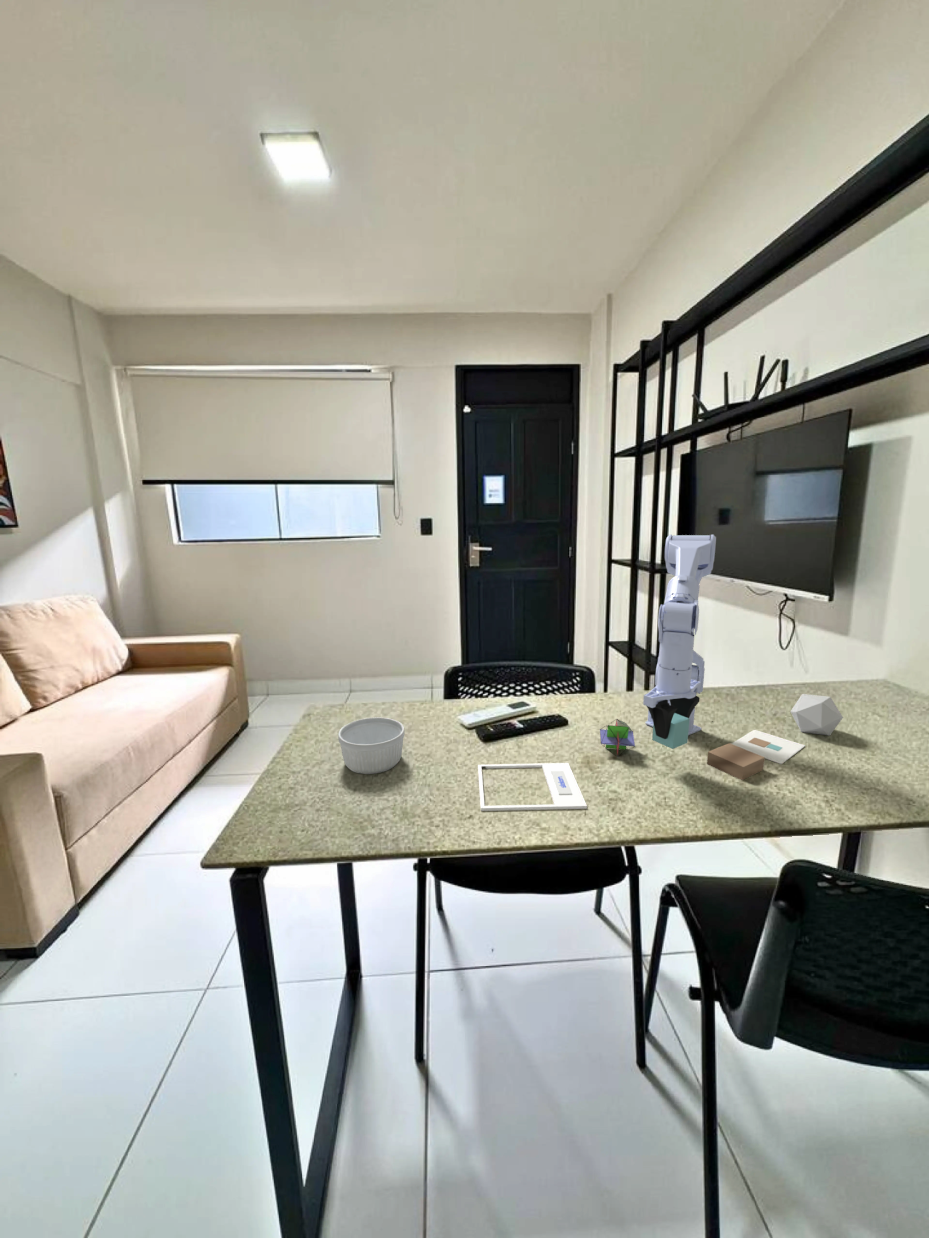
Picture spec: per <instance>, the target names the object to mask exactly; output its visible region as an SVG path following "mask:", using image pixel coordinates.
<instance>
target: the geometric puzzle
mask: <svg viewBox="0 0 929 1238" xmlns="http://www.w3.org/2000/svg"><path fill="white" fill-rule="evenodd" d="M613 722H615V725H611V724H612V723H613ZM604 728H605V726H603V727H602V728H599V733H600V734H599V737H600V745H603V746H604V748H605V749H606V750H608V749H611V750H613V749H614V750H616V754H614V756H616V758H619V750H623V751H622V752H621V753H620V756H622V755H623V754H624V753H627V752H628V750H627V747H630V749H631V750H632V749H633V748H636V745H635V744H636V743H635V737H634V736H635V735H634V730H633V729H631V727H630V726H629V725H628V724H627V722H625V721H622V720H621V719H618V718H616V719H614V720H613V721H611V722H610V723H609V724H607V725H606V729H604ZM611 750H609V752H610V753H612V751H611ZM626 750H627V751H626Z"/></svg>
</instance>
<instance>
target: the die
mask: <svg viewBox="0 0 929 1238" xmlns="http://www.w3.org/2000/svg"><path fill="white" fill-rule="evenodd" d="M790 714H791V715H792V718H793V720H794V721H795V724H796V725H797V727H798V729H799V730H800V732H801V733H807V734H814V735H820V736H827V737H828V736H831V735H832V733H833V732H834V731H835V729H836V728H837V727H838V725H839V724H840V723H841V721H842V720H843V718H844V717H843V715H842V713H841V712H840V710H839V708H838V706H837V705H836V704H835V702H834V700H833V699H832V697H831V696H826V695H816V694H806V693H802V694H801V695H800V697H799V698H798V700H797V701H796V703H795V704H794V705H793V707H792V709H791V710H790Z"/></svg>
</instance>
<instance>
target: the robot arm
mask: <svg viewBox="0 0 929 1238" xmlns="http://www.w3.org/2000/svg"><path fill="white" fill-rule="evenodd" d="M716 543H717V536H715V534H709V535H708V534H707V535H703V534H702V535H701V534H700V535H699V534H698V535H697V534H695V535H694V534H693V535H692V534H691V535H690V534H689V535H687V534H685V535H683V534H682V535H676V534H674V535H673V534H669V535H668V536H667V537H666V539H665V546H664V561H665V568H666V571H667V572H666V573H668V574H670V575H672V576H674V577H672V578H671V579H670V580H669V581H668V583H667V586H666V593H665V598H664V603H663V604H660V606H659V610H658V616H657V617H658V619H657V627H658V642H659V650H658V651H659V653H658V657H657V664H656V668H655V678H654V679H655V680H654V683H655V686H654V687H653V688H652V689H651V690H650V691H649V692H647V693H646V694H643V703H642V704H643V706H645V707H646V708H647V710H648V711H647V720H646V721H645V724H646V725H647V726H650V727H652V728H653V723H654V728H655V732H656V736H658V737H661V738H663V739H667V738H668V735H669V731H670V725H671V721H672V718H673V715H674V713H676V714H679V715H681V716H684V717H687V718H689V730H688V736H690V735H693V734H694V733H697V732H699V731H702V727H700V726H698V725H697V724H694V723H695V711H696V706H697V705H698V703H699V702H700V699H701V698H700V697H699V696H697V694H701V693H703V691H704V680H705V670H706V669H705V660H704V657H702V656H701V654H699V653H697V652H696V651H695V650H694V645H695V636H696V635H697V631H698V629H699V621H700V620H699V616H700V607H699V606H700V605H699V596H700V595H699V593H700V584H701V581H702V579H703V578H704V577H706V576H709V575H711V574H712V571H713V569H714V562H715V558H716V557H715V555H716V554H715V553H716V545H717V544H716Z"/></svg>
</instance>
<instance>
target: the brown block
mask: <svg viewBox="0 0 929 1238" xmlns="http://www.w3.org/2000/svg"><path fill="white" fill-rule="evenodd" d="M765 760H766V759H765V757H763V756H760V755H758V754H755V753H753V752H750V751H748V750H745V749H743V748H740V747H738V746H735V745H733V744H732V743H731V742H729V743H726V744H723V745H721V746H719V747H715V748H714V749H711V750H709V751H707V758H706V765H708V766H710V767H712V768H714V769H717V770H718V771H721V772H723V773H726V774H728V775H729V776H731V777H734V778H736V779H739V780H740V781H743V780H746V779H747V778H749V777H752V776H754V775H756V774H758V773H760V772H762V771H763V770H764V766H765Z"/></svg>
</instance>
